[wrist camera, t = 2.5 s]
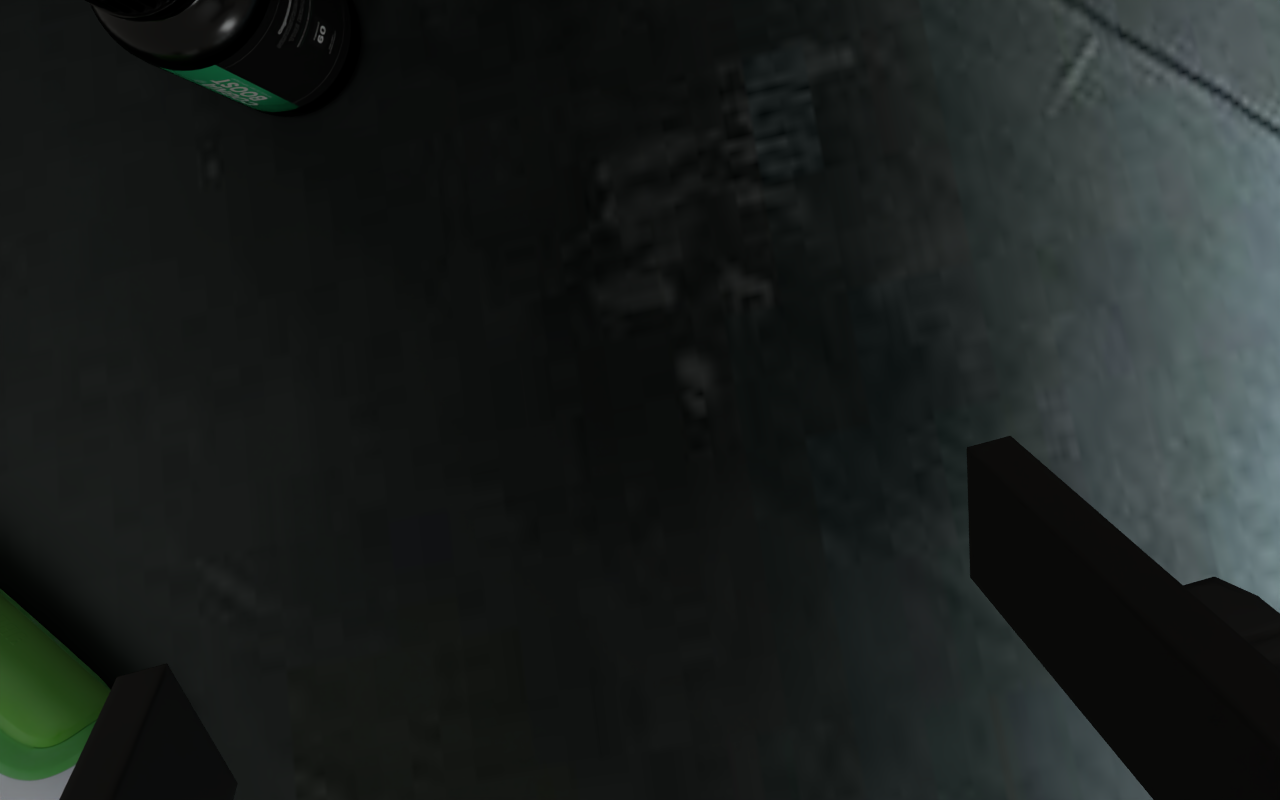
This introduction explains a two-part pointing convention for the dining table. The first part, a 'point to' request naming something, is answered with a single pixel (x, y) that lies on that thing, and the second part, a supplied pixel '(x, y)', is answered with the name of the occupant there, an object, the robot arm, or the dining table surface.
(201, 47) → the supplement bottle
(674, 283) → the dining table surface
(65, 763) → the speaker
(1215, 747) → the robot arm
